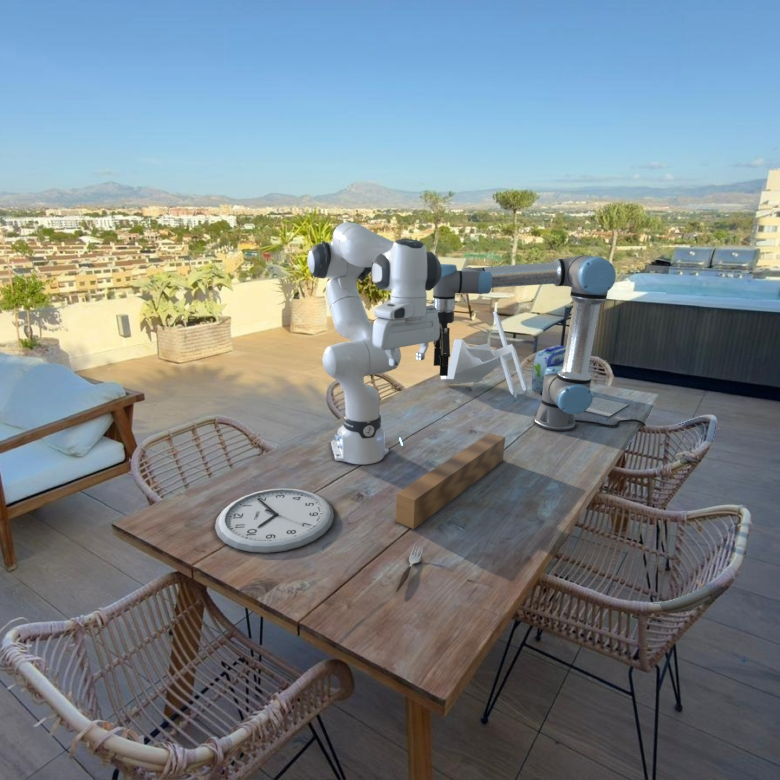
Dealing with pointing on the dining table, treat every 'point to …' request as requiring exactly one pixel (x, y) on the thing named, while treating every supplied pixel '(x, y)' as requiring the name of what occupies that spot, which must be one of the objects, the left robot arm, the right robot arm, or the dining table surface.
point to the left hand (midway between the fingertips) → (407, 362)
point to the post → (448, 481)
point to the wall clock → (274, 520)
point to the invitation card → (605, 406)
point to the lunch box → (546, 364)
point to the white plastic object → (482, 362)
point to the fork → (413, 560)
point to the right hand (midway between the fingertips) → (440, 370)
